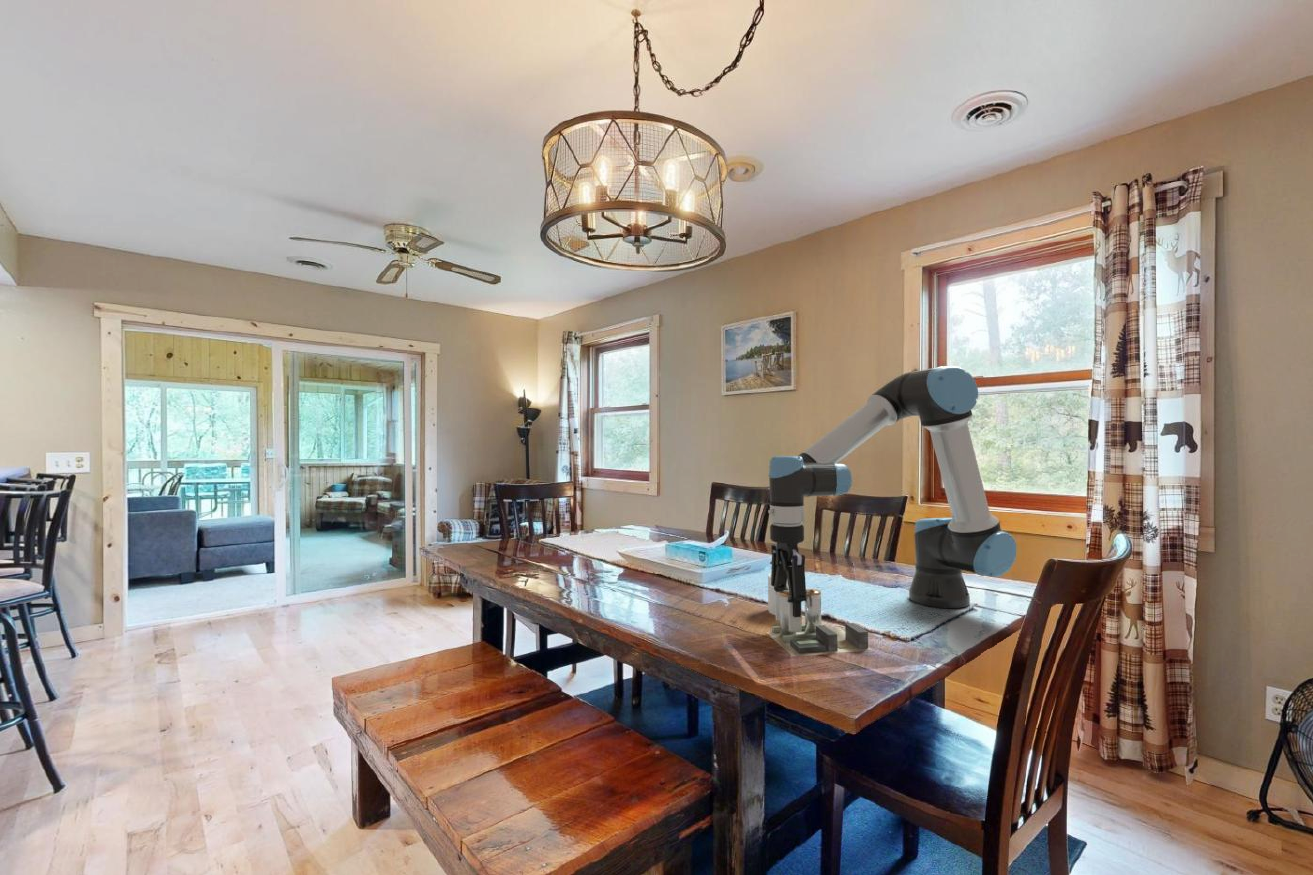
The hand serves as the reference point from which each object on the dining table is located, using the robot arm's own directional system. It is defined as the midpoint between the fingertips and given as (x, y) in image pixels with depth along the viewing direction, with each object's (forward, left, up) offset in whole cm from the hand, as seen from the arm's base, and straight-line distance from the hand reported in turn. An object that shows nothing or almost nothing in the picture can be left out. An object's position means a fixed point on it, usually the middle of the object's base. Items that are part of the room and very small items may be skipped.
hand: (788, 624), depth 128 cm
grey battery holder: (-5, +4, -4) cm, 7 cm away
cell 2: (-6, 0, -3) cm, 7 cm away
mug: (-6, -16, -4) cm, 17 cm away
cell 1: (0, 0, -3) cm, 3 cm away
